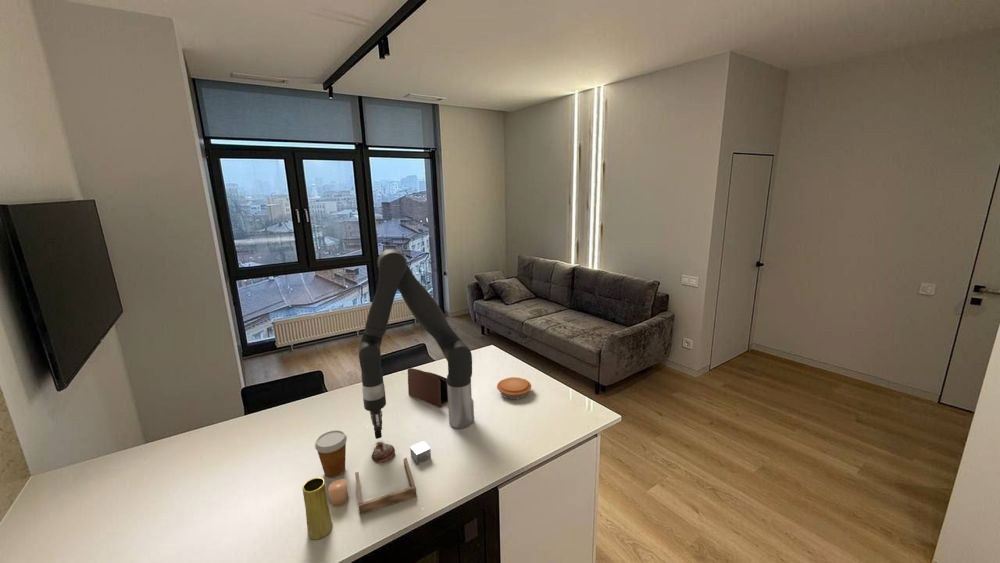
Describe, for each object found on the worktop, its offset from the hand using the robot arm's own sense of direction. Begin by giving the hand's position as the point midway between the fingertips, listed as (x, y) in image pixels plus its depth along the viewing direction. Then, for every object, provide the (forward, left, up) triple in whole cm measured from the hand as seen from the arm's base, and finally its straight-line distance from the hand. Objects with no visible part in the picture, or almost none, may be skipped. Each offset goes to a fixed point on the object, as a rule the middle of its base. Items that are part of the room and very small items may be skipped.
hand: (378, 437), depth 138 cm
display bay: (+1, +25, -2) cm, 25 cm away
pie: (-60, -9, -2) cm, 61 cm away
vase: (+19, +33, -2) cm, 38 cm away
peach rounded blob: (+14, +24, -2) cm, 28 cm away
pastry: (0, +9, -2) cm, 9 cm away
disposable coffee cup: (+15, +10, -2) cm, 18 cm away
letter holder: (-25, -22, -2) cm, 34 cm away
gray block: (-12, +16, -2) cm, 20 cm away
